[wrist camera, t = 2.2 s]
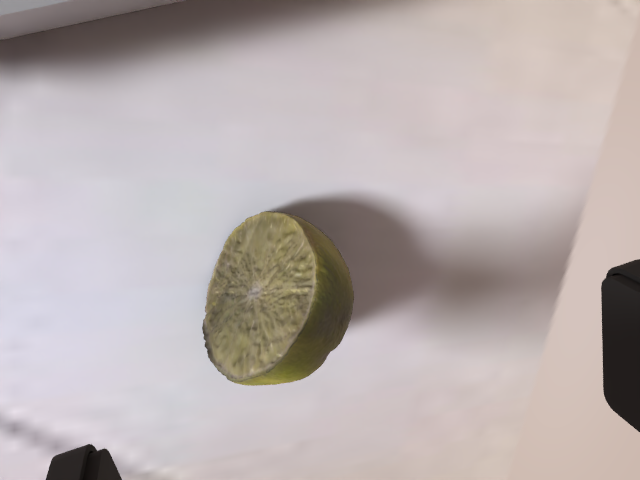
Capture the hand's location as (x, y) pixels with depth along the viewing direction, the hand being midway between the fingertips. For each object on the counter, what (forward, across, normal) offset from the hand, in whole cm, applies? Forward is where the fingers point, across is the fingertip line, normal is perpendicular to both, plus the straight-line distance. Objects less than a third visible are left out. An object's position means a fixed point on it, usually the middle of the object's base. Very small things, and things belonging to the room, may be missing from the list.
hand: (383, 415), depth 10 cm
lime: (+9, +1, +1) cm, 9 cm away
